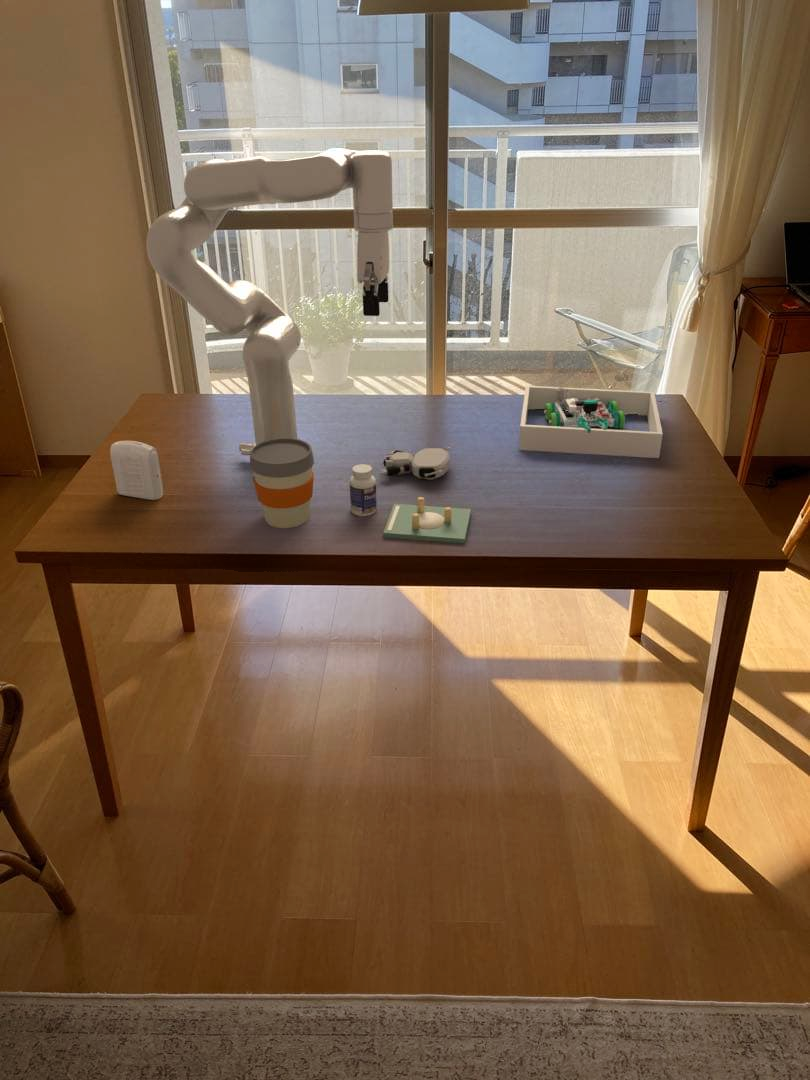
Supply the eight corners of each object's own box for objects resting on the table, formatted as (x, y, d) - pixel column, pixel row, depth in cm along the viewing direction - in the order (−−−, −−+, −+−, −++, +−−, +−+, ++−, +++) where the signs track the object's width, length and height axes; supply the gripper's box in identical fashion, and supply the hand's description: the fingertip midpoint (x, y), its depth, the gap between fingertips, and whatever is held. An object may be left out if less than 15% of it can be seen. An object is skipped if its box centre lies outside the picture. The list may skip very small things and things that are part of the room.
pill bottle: (367, 519, 178) (365, 476, 173) (345, 512, 180) (343, 470, 175) (381, 508, 182) (380, 466, 177) (360, 502, 184) (358, 460, 179)
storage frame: (518, 449, 205) (520, 426, 202) (524, 407, 227) (525, 385, 224) (659, 458, 200) (662, 434, 197) (650, 414, 222) (654, 391, 219)
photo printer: (167, 493, 189) (158, 440, 182) (157, 502, 185) (147, 449, 179) (126, 487, 191) (115, 435, 185) (115, 495, 188) (104, 443, 181)
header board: (383, 537, 171) (382, 519, 169) (394, 507, 182) (393, 490, 180) (464, 543, 169) (465, 525, 167) (470, 513, 179) (471, 496, 177)
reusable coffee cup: (304, 536, 172) (299, 467, 164) (246, 528, 175) (238, 460, 167) (326, 506, 182) (322, 440, 175) (271, 499, 185) (264, 434, 178)
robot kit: (560, 454, 202) (563, 416, 197) (540, 412, 224) (542, 377, 219) (639, 451, 203) (644, 413, 198) (612, 410, 224) (616, 375, 220)
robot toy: (378, 486, 192) (446, 487, 189) (376, 467, 190) (444, 468, 187) (390, 462, 203) (454, 462, 199) (388, 444, 200) (452, 444, 197)
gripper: (363, 211, 177) (366, 296, 186) (344, 229, 162) (349, 320, 171) (400, 212, 176) (401, 297, 185) (384, 230, 161) (386, 321, 170)
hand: (376, 308), depth 178 cm, fingers open, 9 cm apart
